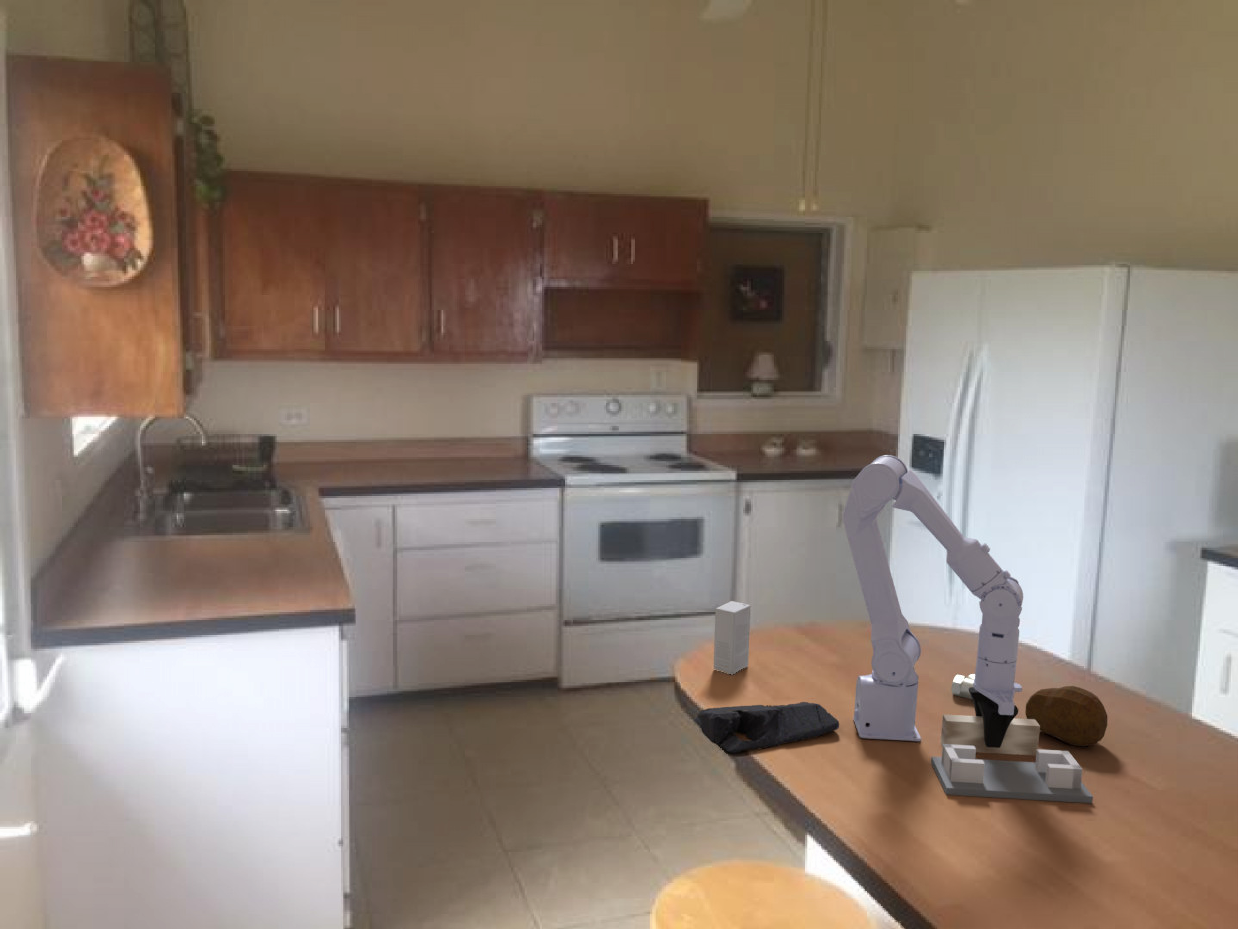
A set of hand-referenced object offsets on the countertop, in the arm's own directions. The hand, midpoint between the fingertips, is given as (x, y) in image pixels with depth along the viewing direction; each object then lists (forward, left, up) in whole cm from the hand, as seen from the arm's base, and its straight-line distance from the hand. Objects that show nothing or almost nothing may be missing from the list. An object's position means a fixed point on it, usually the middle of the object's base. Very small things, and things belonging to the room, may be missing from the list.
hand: (989, 740), depth 163 cm
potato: (+14, +6, -2) cm, 15 cm away
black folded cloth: (-34, +3, -2) cm, 34 cm away
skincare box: (-39, +29, -2) cm, 49 cm away
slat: (0, 0, -2) cm, 2 cm away
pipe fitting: (+4, +21, -2) cm, 22 cm away
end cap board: (0, -11, -1) cm, 11 cm away
